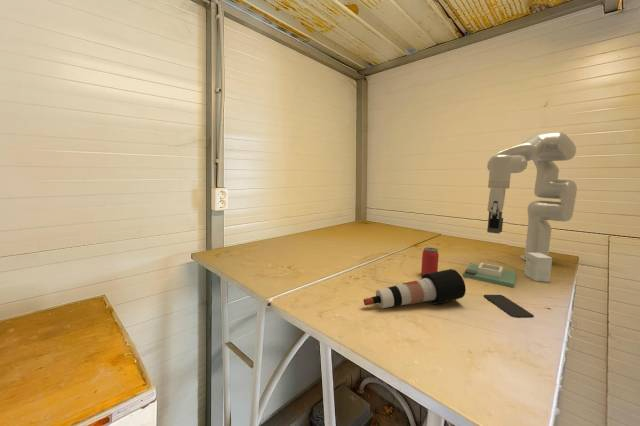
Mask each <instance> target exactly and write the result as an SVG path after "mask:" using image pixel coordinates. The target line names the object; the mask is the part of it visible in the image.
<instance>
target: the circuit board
mask: <svg viewBox="0 0 640 426" xmlns="http://www.w3.org/2000/svg"><path fill="white" fill-rule="evenodd" d="M479 265H480V264H477V263H470V264H469V265H468V266H467V268H466V269H465V270H464V272H463V273H462V278H463V277H464V278H468V279H471V280H477V281H480V282H481V281H482V282H486V283H490V284H495V285H498V286H499V285H501V286H505V287H509V288H514V287H515V283H516V275H517V271H516V270H509V269H504V268H503V271H502V275H501V278H500V277H495V276H490V275H486V274H481V273H478V267H479Z"/></svg>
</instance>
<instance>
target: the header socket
mask: <svg viewBox="0 0 640 426" xmlns="http://www.w3.org/2000/svg"><path fill="white" fill-rule="evenodd" d="M478 265H479V267H478V273H481V274H486V275H490V276H495V277H500V278H501V275H502V271H503V269H504V267H503V266H501V265H495V264H491V263H490V264H489V263H485V262H480V263H479V264H478Z"/></svg>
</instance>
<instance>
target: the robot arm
mask: <svg viewBox="0 0 640 426" xmlns="http://www.w3.org/2000/svg"><path fill="white" fill-rule="evenodd" d="M576 153H577V147H576V145H575V142H574V141H573V140H572V139H571V138H570V137H569V136H568V135H567V134H566V133H564V132H561V131H554V132H545V133H536V134H533V135H532V136H530V137H528V138H527V139H526V140H525V141H522V143H520V144H518V145H514V146H512V147H508V148H506V149H503V150H501V151H498V152H497V153H495V154H493V155H492V156H491V157H490V158H489V160H488V162H487V166H486V168H487V171H489V173H488V183H487V184H488V185H487V188H488V189H490V190H489V195H488V202H487V203H488V204H487V209H486V210H487V211H488V212H489V211H491V218H490V225H489V227H490V228H496V229H498V227H499V212H503V208H504V205H505V198H506V190H507V189H508V190H509V189H510V185H511V175H512V174H520V173H522V172H524V171H525V170H526V169H527V167H528V162H529V161H532V162H533V164H534V165H535V167H536V176H535V182H534V190H533V191H534V196H535V197H537V198H542V199H551V201H550V200H534V201H531V202H530V203H529V204H528V205H527V218H528V220H527V221H528V222H527V223H528V224H527V231H526V232H527V233H526V240H525V249H524V254H521V255H520V259H522V260H524V261H526V256H527V252H531V253H542V254H544V255H546V256H549V252H550V244H551V236H552V227H551V225H550V223H549V222H548V221H554V222H562V223H563V222H564V223H567V222H569V221H570V220H571V219H572V217H573V215H574V210H575V203H576V200H577V199H576V198H577V191H578V187H577V184H576V182H575V181H574V180H572V179H559V173H560V169H559V167H558V165H557V164H556V163H555V162H560V161H561V162H562V161H569V160H572V159H573V158H574V157H575V156H576ZM552 199H553V200H554V199H555V200H556V199H557V200H560V201H552ZM496 211H498V212H496Z"/></svg>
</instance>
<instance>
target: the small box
mask: <svg viewBox="0 0 640 426" xmlns="http://www.w3.org/2000/svg"><path fill="white" fill-rule="evenodd" d="M552 266H553V257H551V256H549V255H548V256H546V255H544V254H542V253H531V252H527V256H526V260H525V267H524V275H525V276H527V277H528V278H529V279H531V280H532V281H534V282H546V283H550V281H551V276H552V275H551V272H552Z"/></svg>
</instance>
